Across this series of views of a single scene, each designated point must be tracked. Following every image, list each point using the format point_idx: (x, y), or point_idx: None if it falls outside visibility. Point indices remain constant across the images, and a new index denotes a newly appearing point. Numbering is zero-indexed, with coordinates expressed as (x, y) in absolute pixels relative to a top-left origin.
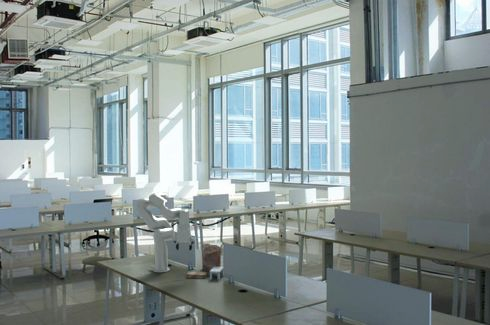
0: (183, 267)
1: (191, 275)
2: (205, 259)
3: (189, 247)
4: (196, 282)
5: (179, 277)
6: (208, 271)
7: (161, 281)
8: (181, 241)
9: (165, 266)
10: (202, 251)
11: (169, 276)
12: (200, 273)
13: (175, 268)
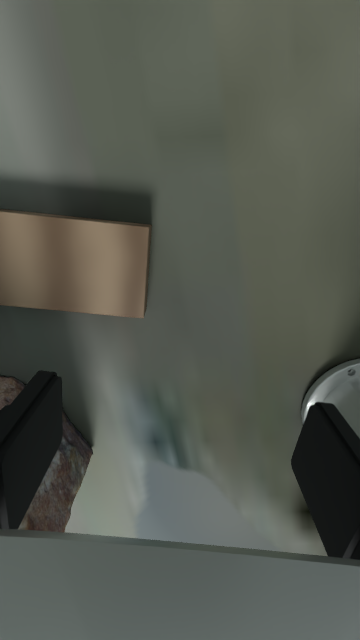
0: (219, 472)
1: (105, 221)
2: None
3: (23, 411)
4: (20, 46)
5: (209, 228)
6: None
7: (355, 75)
8: (285, 598)
9: (346, 406)
10: None
11: (292, 256)
12: (32, 254)
13: (266, 452)
